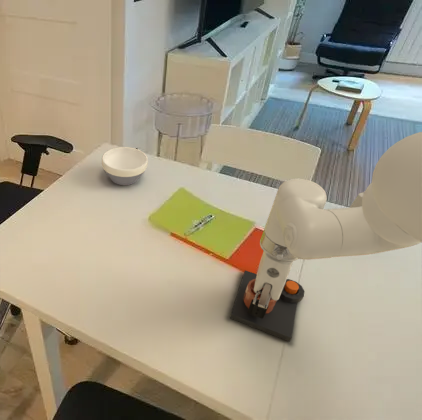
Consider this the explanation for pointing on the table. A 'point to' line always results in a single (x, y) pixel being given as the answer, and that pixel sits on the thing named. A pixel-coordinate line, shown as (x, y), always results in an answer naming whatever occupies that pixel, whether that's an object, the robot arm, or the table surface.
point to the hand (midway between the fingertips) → (258, 300)
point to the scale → (273, 321)
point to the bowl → (124, 164)
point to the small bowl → (251, 294)
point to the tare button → (291, 287)
